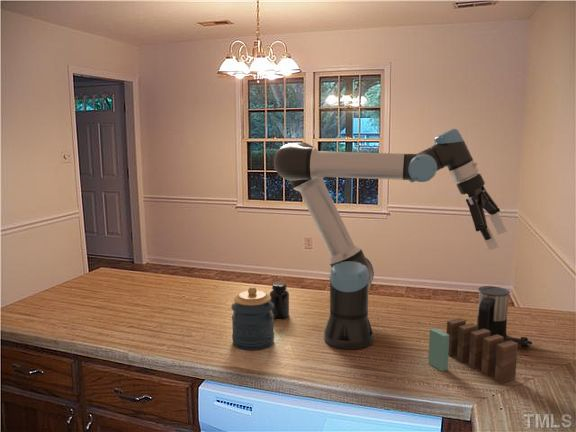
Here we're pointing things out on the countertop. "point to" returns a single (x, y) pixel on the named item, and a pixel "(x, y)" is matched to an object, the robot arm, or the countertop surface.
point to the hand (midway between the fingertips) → (498, 240)
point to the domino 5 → (490, 354)
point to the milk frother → (495, 312)
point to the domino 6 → (506, 362)
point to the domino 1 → (438, 349)
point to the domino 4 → (477, 348)
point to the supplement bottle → (280, 300)
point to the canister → (252, 320)
